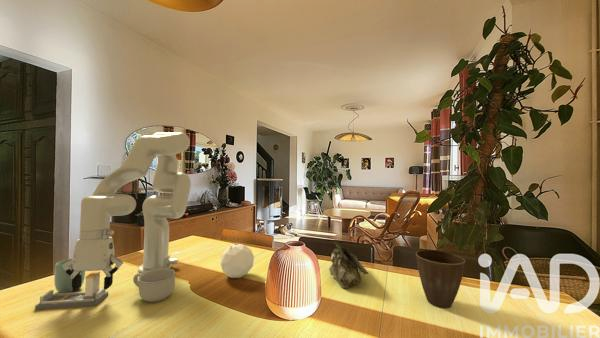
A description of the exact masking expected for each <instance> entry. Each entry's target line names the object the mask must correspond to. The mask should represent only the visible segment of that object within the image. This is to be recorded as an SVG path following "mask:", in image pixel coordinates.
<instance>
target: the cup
mask: <svg viewBox="0 0 600 338" xmlns="http://www.w3.org/2000/svg"><path fill="white" fill-rule="evenodd" d="M71 259H72V258H68V259H64V260H63V259H62V260H60V261H57V262H56V263H55V266H54V277H53V279H54V281H53V282H54V287H55V290H56V291H57V293H72V292H74V291H72V289H73V288H72V279H71V278H70V276H69V275H68V274H67V273H66V270H64V268H63V267H62V265H63V264H65V263H66V262H68V261H70V260H71ZM71 267H72V264H71ZM72 268H73V267H72ZM80 275H81V276H82V283H81V287H82V286H83V285H84V283H85V278H86V271H82V272H81V273H80Z"/></svg>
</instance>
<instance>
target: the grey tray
mask: <svg viewBox="0 0 600 338" xmlns="http://www.w3.org/2000/svg"><path fill="white" fill-rule="evenodd" d="M54 292H55V291H54V290H53V289H52V290H48V291H47V292H45V293H43V294H42V295H40V297H39V303H37V304H35V306H34V310H37V311H38V310H40V311H41V310H52V309H67V308H68V309H69V308H83V307H96V306H97V305H99V304H100V303H101V302H102V301H103V300H104V299H106V298H107V297H108V296H109V291H107V289H106V290H104V287H102V288H100V289H99V291H98V292H97V293H96V295H95V298H91V299H83V296H84V295H85V291H73V292H70V293H60V292H57V293H54Z"/></svg>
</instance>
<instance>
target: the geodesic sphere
mask: <svg viewBox="0 0 600 338" xmlns="http://www.w3.org/2000/svg"><path fill="white" fill-rule="evenodd" d="M254 261H255V257H254V253H253V252H252V249H251V248H249V247H248V246H247V245H245V244H242V243H239V242H238V243H237V242H234V244H232V245H229V246H228V247H226V249H225V250H224V251H223V253H221V257H220V266H221V270H222V273H224V274H225V275H226V276H228V277H229V278H231V279H232V278H233V279H241V278H243V277H244V276H245V275H247V274H248V273H249V272H250V271H251V269H252V268H253V267H254Z"/></svg>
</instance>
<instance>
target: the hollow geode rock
mask: <svg viewBox="0 0 600 338" xmlns="http://www.w3.org/2000/svg"><path fill="white" fill-rule="evenodd" d="M333 243H334V245H335V247H336V248H334V249H333V251H332V252H331V257H330V258H331V265H330V267H329V273H330V276H333V278H334V279H335V280H336V282H337V283H338V285H339V287H340V288H342V289H349V288H350V287H351V286H357V283H359V282H361V280H362V277H361V274H360V273H363V274H364V275H369V271H368V270H367V269H366V268H365V267H364V266H363V265H362V263H361V262H360V261H359V260H358V257H357V256H356V255H355V254H353V253H351V252H350V250H348V249H346V248H345V247H344V245H343V244H342V243H340V242H339V241H336V240H335V241H333Z"/></svg>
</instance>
